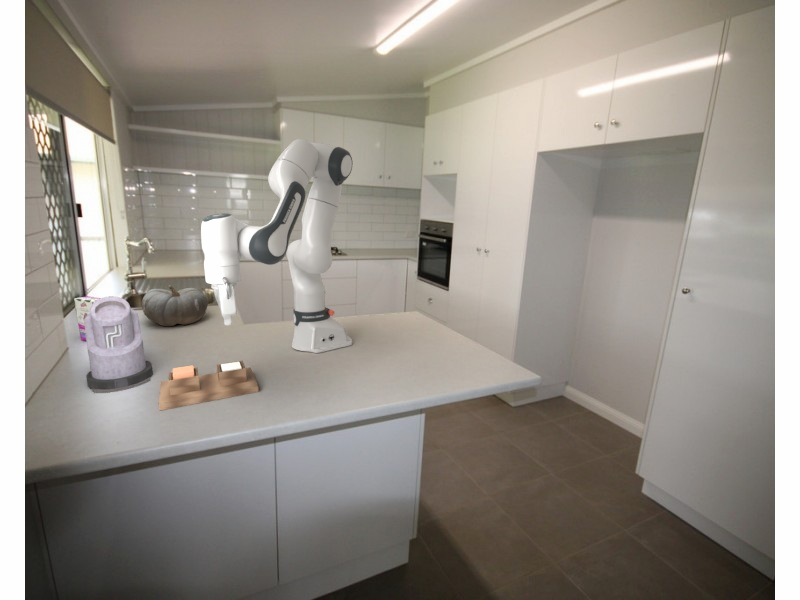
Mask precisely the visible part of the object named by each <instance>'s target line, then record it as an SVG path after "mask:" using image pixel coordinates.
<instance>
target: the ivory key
mask: <svg viewBox="0 0 800 600" xmlns="http://www.w3.org/2000/svg"><path fill="white" fill-rule="evenodd" d="M232 362H233V363H229V362H226V363H227V364H222V363H220V364H221V372H225V371H231V370H237V369H242V368H241V365H240V362H235V361H232Z"/></svg>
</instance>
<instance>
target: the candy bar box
mask: <svg viewBox="0 0 800 600" xmlns="http://www.w3.org/2000/svg"><path fill="white" fill-rule="evenodd" d="M101 298H102V297H95V296H90V295H89V296H88V295H87V296H79V297H76V298H73V300H74V301H73V302H74V307H75V313H76V319H77V324H78V331H79V336H80V340H81V341H83V342H86V333H85V324H84V319H85V317H86V316H87V315H88V314H89V313H90V308H91V306H92V304H93V303H94V302H95V301H97V300H98V299H101Z"/></svg>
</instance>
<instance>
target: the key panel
mask: <svg viewBox="0 0 800 600" xmlns="http://www.w3.org/2000/svg"><path fill="white" fill-rule="evenodd" d="M233 362H240V365H241V368H242V369H237V370H231V371H225V372H221V364H227V363H233ZM216 368H217V369H216V371H217V372H213V373H208V374H207V373H206V374H201V375H199V368H198V367H194V377H188V378H182V379H176V380H173V370H171V371H168V380H163V381H160V388H159V397H158V408H159V411H165V410H169V409H176V408H179V407H186V406H191V405H195V404H201V403H206V402H211V401H217V400H223V399H227V398H232V397H238V396H243V395H248V394H254V393H258V392H259V384H258V382H257V379H256V377H255V375H254V372H253V371H252V368H251V367H246V365H245V363H244V361H243V360H235V361H230V362H224V363H218V364H216Z"/></svg>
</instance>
